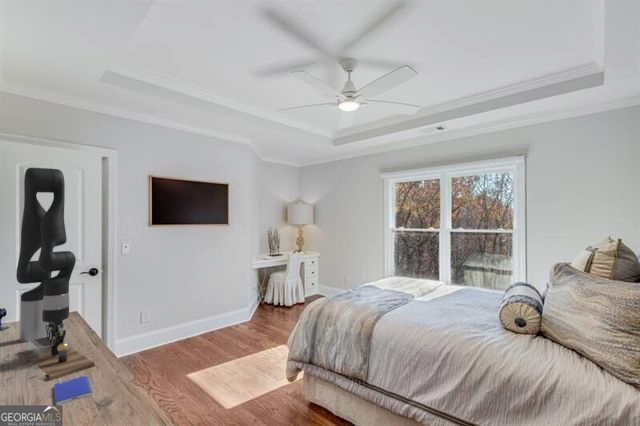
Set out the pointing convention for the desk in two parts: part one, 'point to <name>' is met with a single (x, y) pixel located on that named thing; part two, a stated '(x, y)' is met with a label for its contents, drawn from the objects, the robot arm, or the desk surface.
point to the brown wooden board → (62, 364)
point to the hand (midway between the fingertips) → (54, 354)
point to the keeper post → (62, 352)
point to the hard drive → (72, 389)
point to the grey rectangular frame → (43, 347)
